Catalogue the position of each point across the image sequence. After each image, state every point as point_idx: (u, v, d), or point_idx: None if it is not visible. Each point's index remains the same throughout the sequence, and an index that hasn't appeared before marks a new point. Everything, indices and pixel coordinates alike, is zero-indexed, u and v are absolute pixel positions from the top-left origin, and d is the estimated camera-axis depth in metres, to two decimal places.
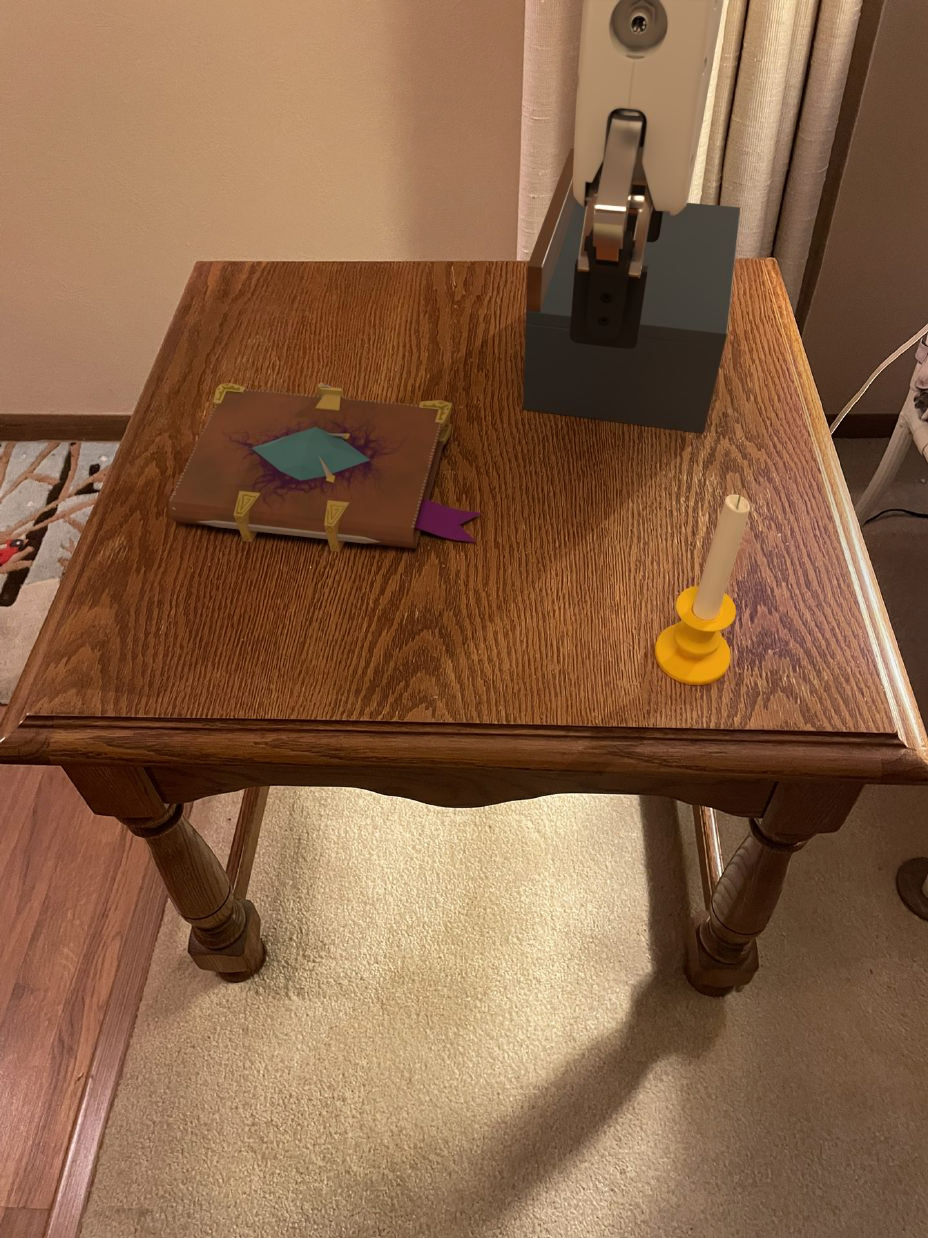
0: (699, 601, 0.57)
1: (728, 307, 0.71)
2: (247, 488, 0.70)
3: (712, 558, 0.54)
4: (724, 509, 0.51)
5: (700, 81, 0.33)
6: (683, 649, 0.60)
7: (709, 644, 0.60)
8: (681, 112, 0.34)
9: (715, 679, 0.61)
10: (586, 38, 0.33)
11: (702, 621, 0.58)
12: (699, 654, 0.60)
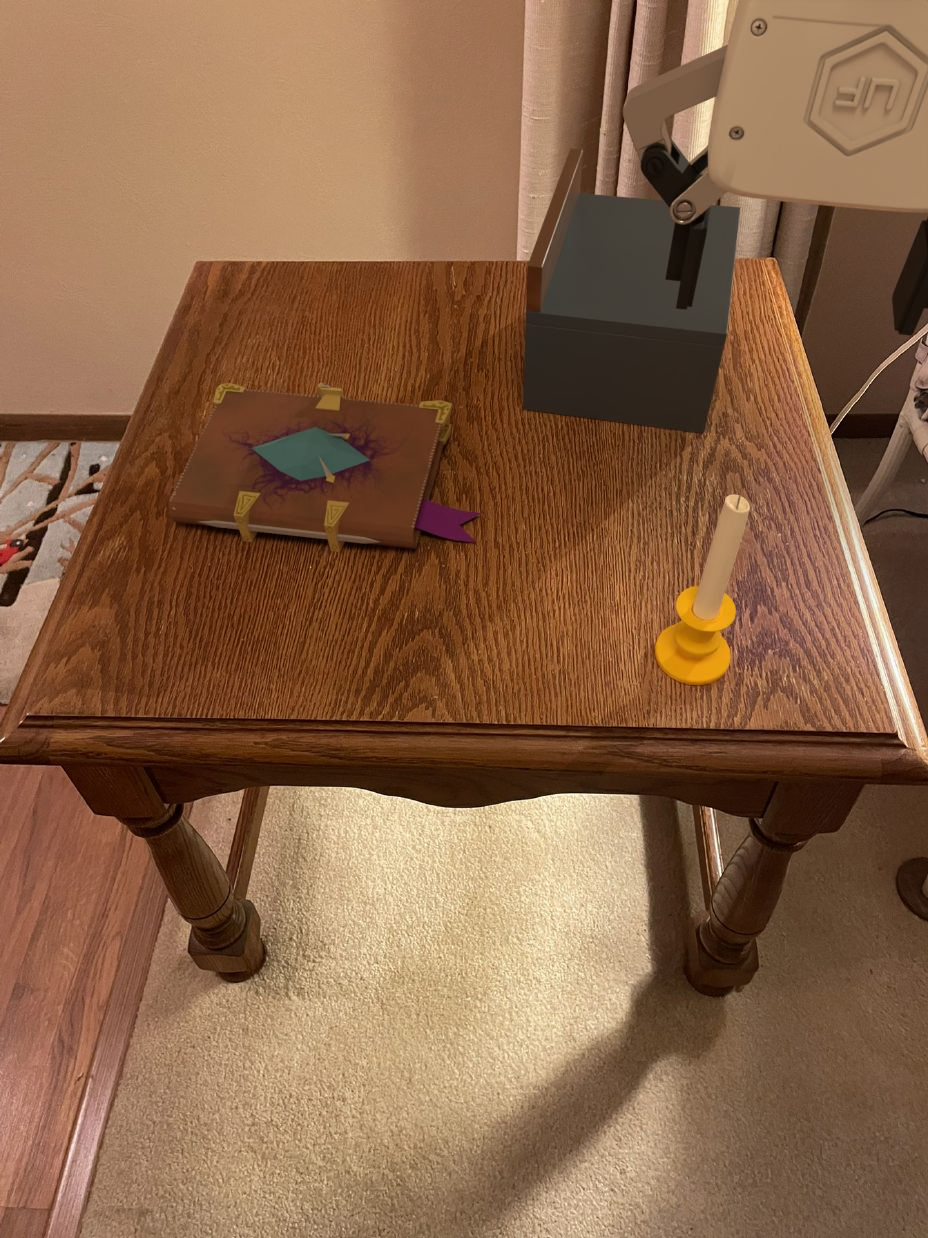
0: (699, 601, 0.57)
1: (728, 307, 0.71)
2: (247, 488, 0.70)
3: (712, 558, 0.54)
4: (724, 509, 0.51)
5: (745, 39, 0.31)
6: (683, 649, 0.60)
7: (709, 644, 0.60)
8: (727, 62, 0.32)
9: (715, 679, 0.61)
10: None
11: (702, 621, 0.58)
12: (699, 654, 0.60)
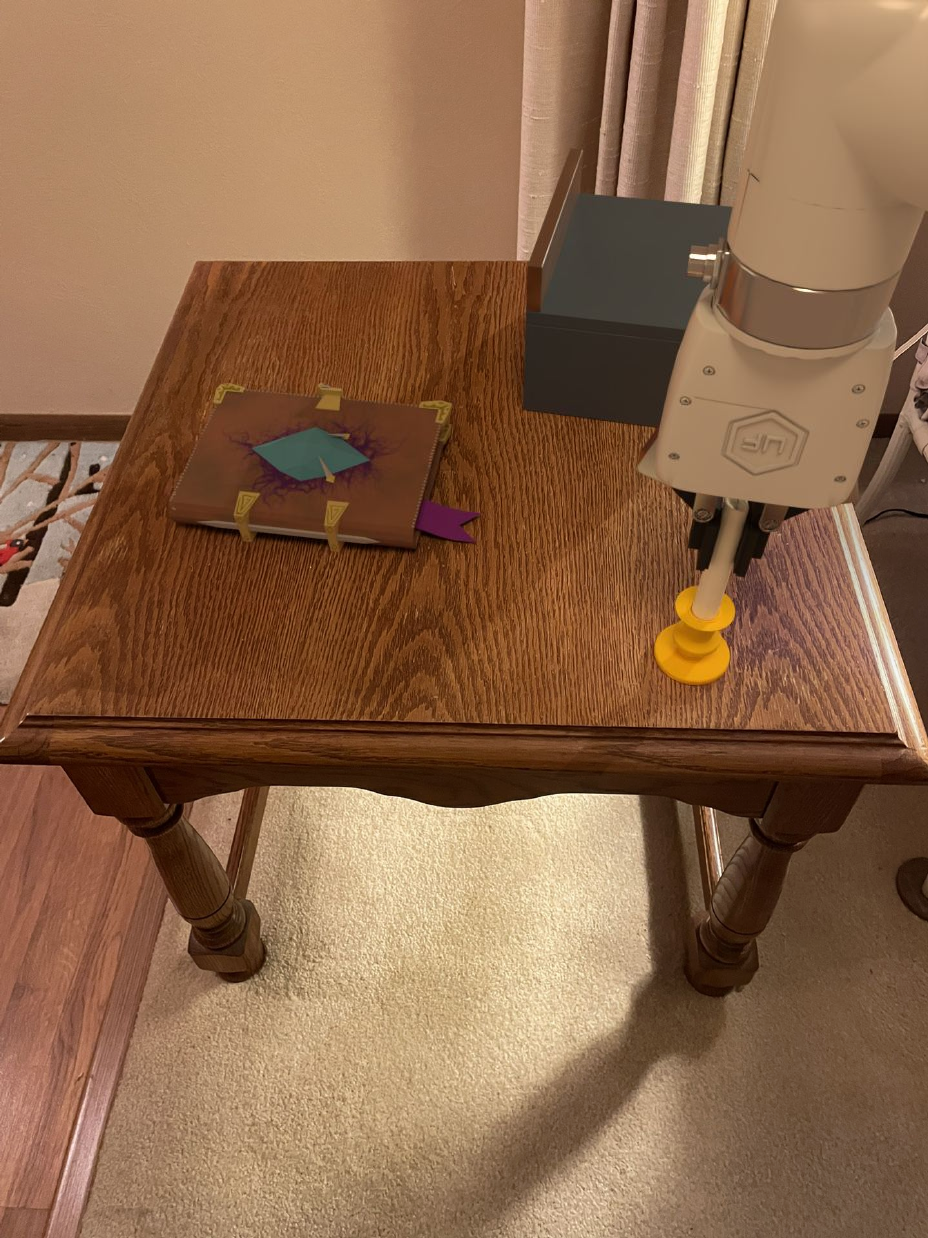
0: (698, 601, 0.57)
1: None
2: (247, 488, 0.70)
3: (711, 558, 0.54)
4: (723, 509, 0.51)
5: (676, 406, 0.44)
6: (682, 649, 0.60)
7: (708, 644, 0.60)
8: (665, 414, 0.45)
9: (714, 679, 0.61)
10: None
11: (701, 621, 0.58)
12: (698, 654, 0.60)
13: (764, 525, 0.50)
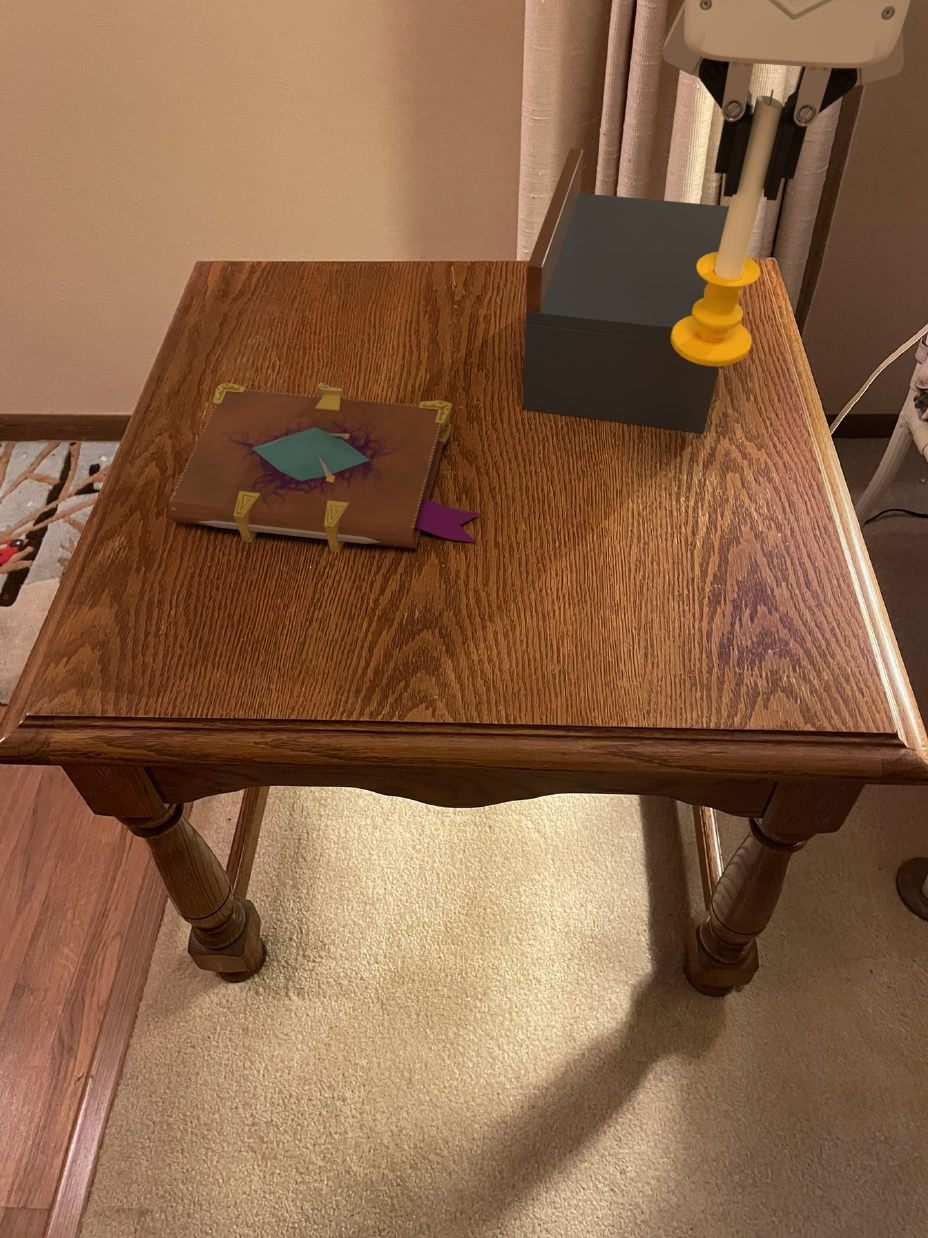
0: (722, 254, 0.53)
1: None
2: (247, 488, 0.70)
3: (739, 185, 0.50)
4: (755, 110, 0.47)
5: None
6: (703, 323, 0.56)
7: (730, 316, 0.56)
8: None
9: (736, 359, 0.57)
10: None
11: (725, 279, 0.54)
12: (720, 326, 0.56)
13: (800, 116, 0.46)
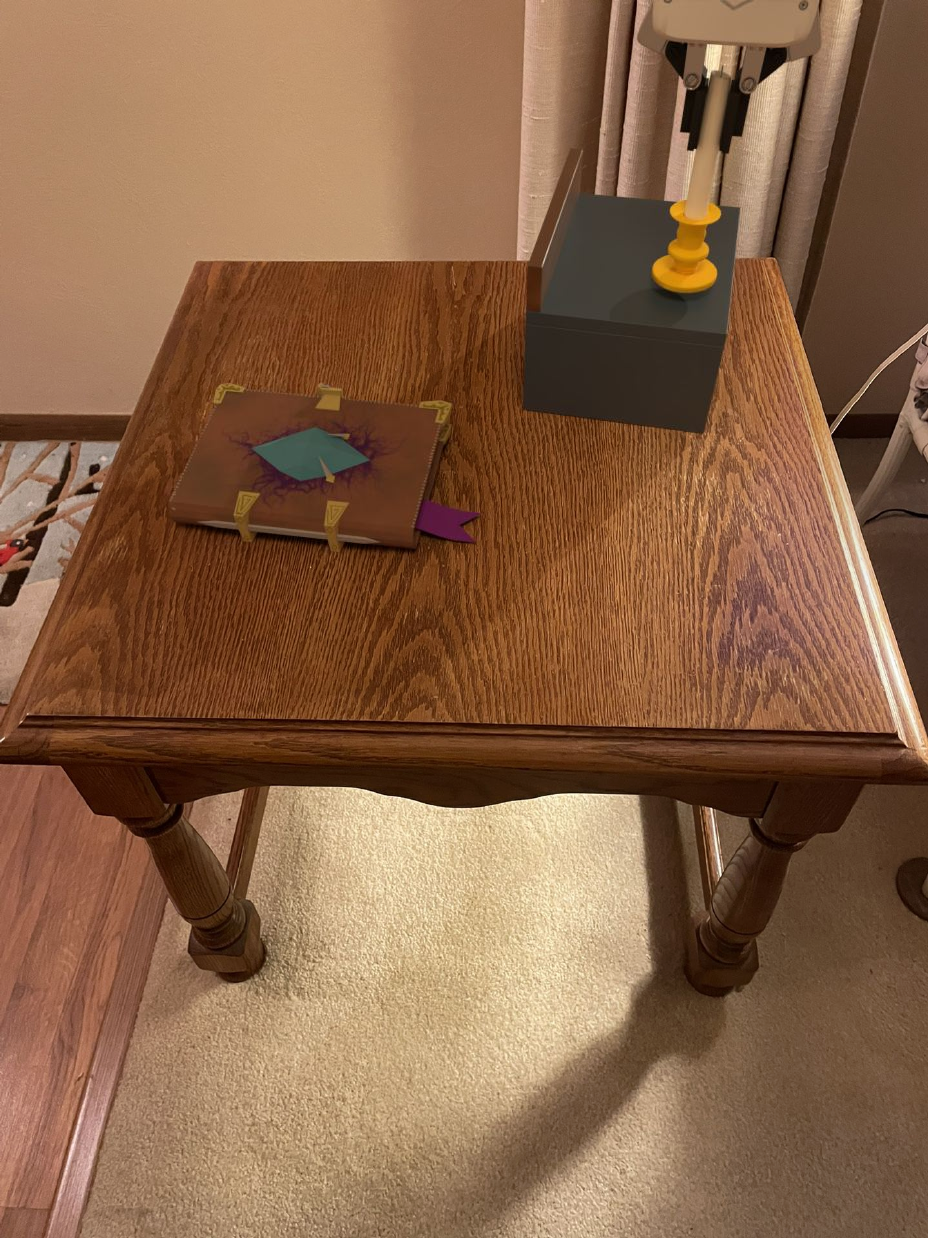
0: (689, 199, 0.67)
1: (728, 307, 0.71)
2: (247, 488, 0.70)
3: (700, 142, 0.64)
4: (709, 81, 0.61)
5: None
6: (676, 257, 0.70)
7: (698, 251, 0.70)
8: None
9: (703, 287, 0.71)
10: None
11: (692, 220, 0.68)
12: (690, 259, 0.70)
13: (744, 86, 0.60)
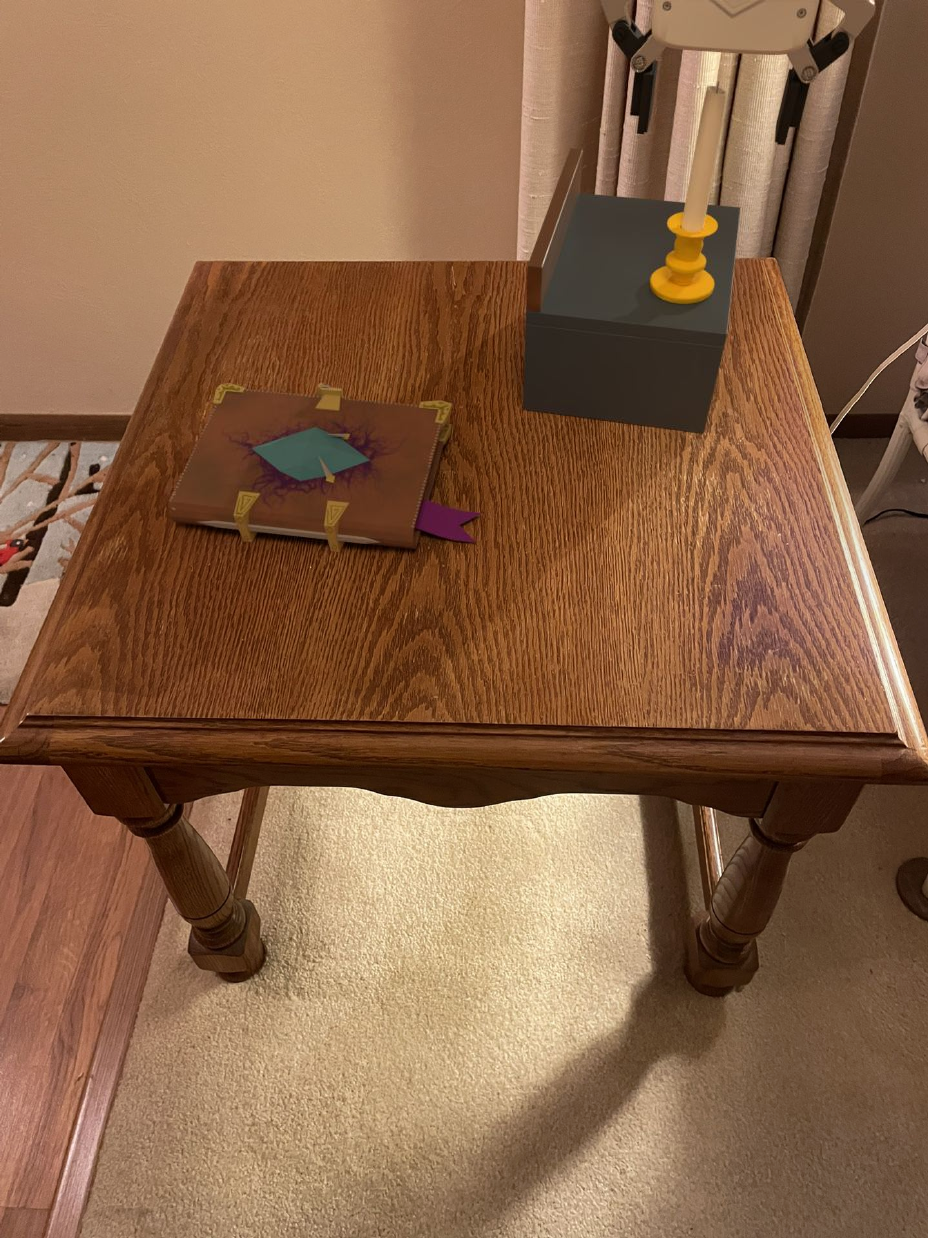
0: (686, 212, 0.68)
1: (728, 307, 0.71)
2: (247, 488, 0.70)
3: (696, 156, 0.65)
4: (705, 96, 0.62)
5: None
6: (673, 268, 0.71)
7: (695, 262, 0.70)
8: None
9: (701, 298, 0.71)
10: None
11: (689, 232, 0.68)
12: (687, 271, 0.70)
13: (804, 75, 0.58)
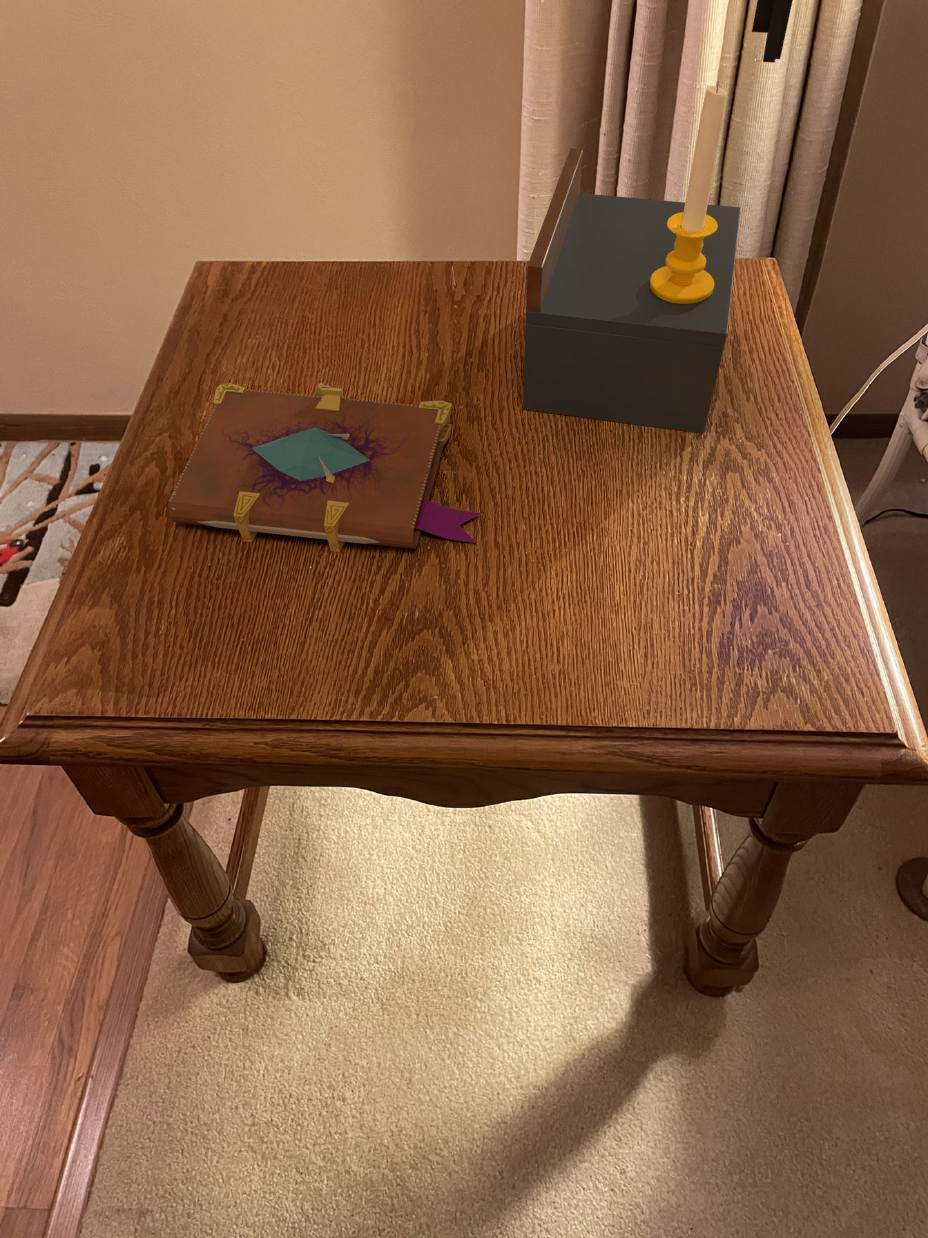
0: (686, 212, 0.68)
1: (728, 307, 0.71)
2: (247, 488, 0.70)
3: (696, 156, 0.65)
4: (705, 96, 0.62)
5: None
6: (673, 268, 0.71)
7: (695, 262, 0.70)
8: None
9: (701, 298, 0.71)
10: None
11: (689, 232, 0.68)
12: (687, 271, 0.70)
13: None
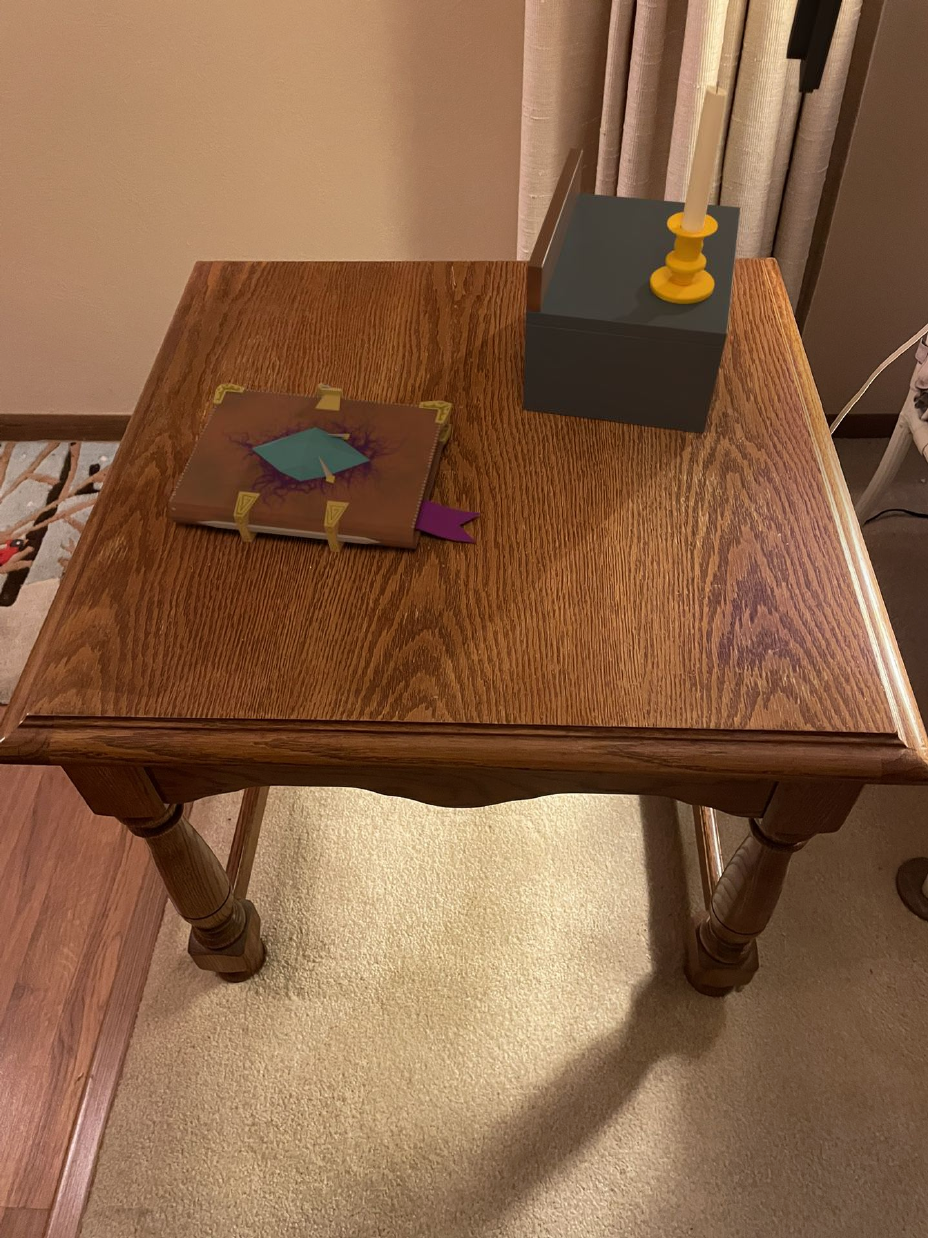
0: (686, 212, 0.68)
1: (728, 307, 0.71)
2: (247, 488, 0.70)
3: (696, 156, 0.65)
4: (705, 97, 0.62)
5: None
6: (673, 268, 0.71)
7: (695, 262, 0.70)
8: None
9: (701, 298, 0.71)
10: None
11: (689, 232, 0.68)
12: (687, 271, 0.70)
13: None
